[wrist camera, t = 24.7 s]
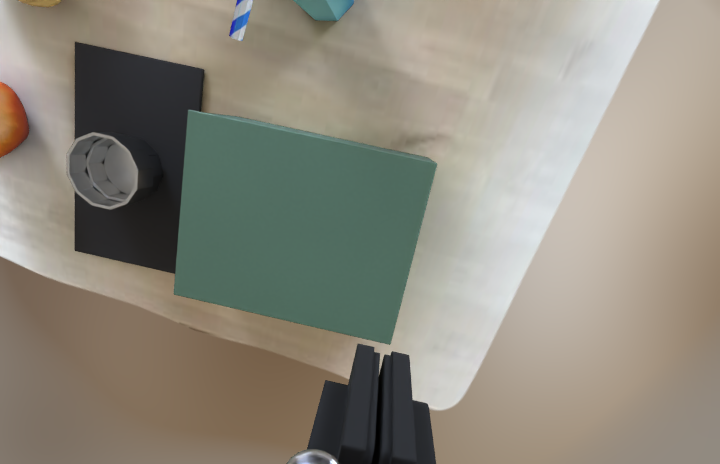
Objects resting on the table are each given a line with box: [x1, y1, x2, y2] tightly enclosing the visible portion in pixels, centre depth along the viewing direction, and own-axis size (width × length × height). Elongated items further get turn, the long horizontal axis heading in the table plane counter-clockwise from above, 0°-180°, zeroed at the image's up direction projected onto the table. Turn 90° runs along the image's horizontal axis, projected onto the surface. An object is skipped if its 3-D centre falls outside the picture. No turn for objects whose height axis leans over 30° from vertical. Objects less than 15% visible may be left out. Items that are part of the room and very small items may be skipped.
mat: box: [75, 42, 204, 274], centre depth 39 cm, size 22×13×1 cm, turn 168°
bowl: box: [67, 132, 163, 209], centre depth 37 cm, size 7×7×4 cm
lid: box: [174, 110, 437, 345], centre depth 32 cm, size 20×17×1 cm
